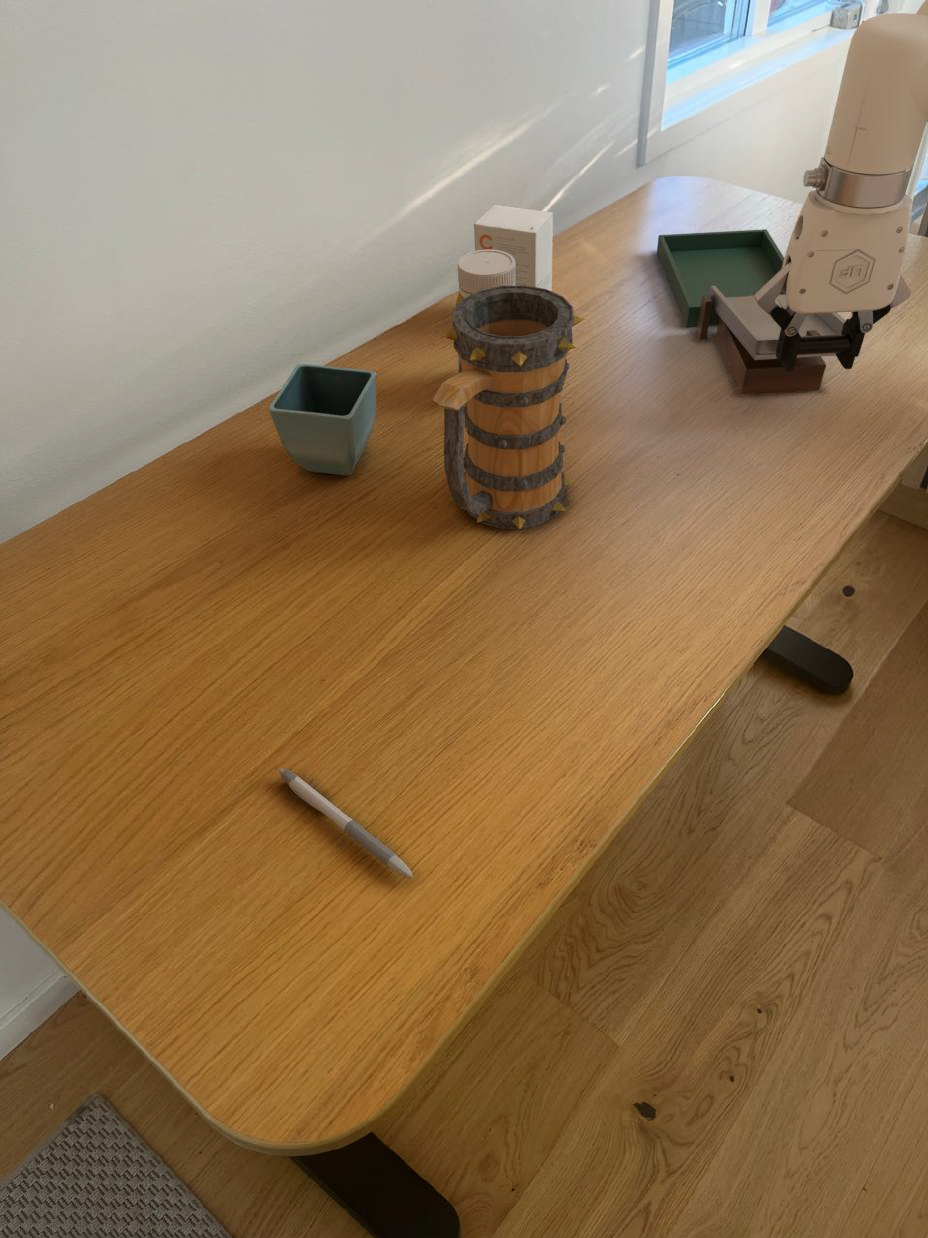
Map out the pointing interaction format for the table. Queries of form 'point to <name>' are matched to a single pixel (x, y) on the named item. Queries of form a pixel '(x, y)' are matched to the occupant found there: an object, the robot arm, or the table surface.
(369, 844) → the pen
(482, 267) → the bottle
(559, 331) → the mug
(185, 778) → the table surface
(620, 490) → the table surface
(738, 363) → the stand
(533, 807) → the table surface
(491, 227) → the small box
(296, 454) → the flower pot
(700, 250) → the tray
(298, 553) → the table surface
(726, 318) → the grey pull-out drawer
